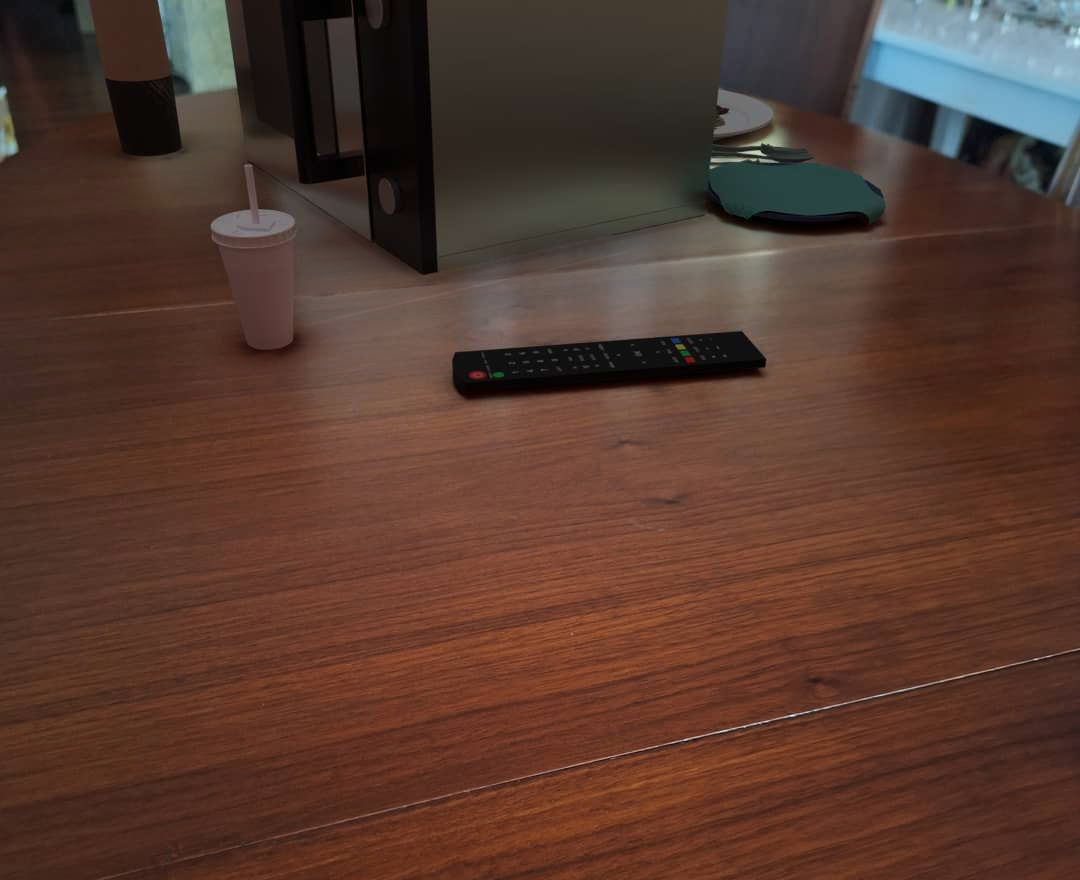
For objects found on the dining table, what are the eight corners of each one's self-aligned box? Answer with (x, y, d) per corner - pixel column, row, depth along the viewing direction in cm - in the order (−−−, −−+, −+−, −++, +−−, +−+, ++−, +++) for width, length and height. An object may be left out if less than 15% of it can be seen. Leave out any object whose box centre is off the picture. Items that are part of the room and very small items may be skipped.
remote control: (764, 374, 81) (766, 359, 80) (458, 400, 76) (457, 383, 76) (739, 346, 85) (741, 330, 84) (448, 368, 81) (447, 352, 80)
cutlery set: (713, 234, 107) (716, 212, 106) (676, 154, 131) (678, 135, 130) (904, 236, 108) (909, 214, 106) (831, 156, 132) (835, 137, 131)
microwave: (415, 278, 96) (396, -72, 80) (243, 162, 125) (203, -111, 109) (705, 214, 112) (738, -87, 96) (492, 125, 142) (490, -117, 126)
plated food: (774, 156, 131) (778, 129, 129) (541, 143, 135) (541, 115, 133) (769, 102, 156) (772, 78, 154) (571, 92, 159) (572, 68, 157)
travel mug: (169, 137, 134) (136, -39, 122) (194, 150, 129) (163, -32, 117) (110, 147, 130) (71, -35, 118) (134, 161, 125) (96, -27, 113)
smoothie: (252, 364, 81) (223, 181, 73) (215, 336, 85) (184, 160, 77) (324, 343, 84) (305, 166, 76) (286, 317, 88) (264, 147, 80)
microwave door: (319, 252, 100) (283, -80, 84) (202, 166, 123) (156, -108, 107) (385, 239, 104) (362, -83, 88) (259, 158, 126) (223, -110, 110)
